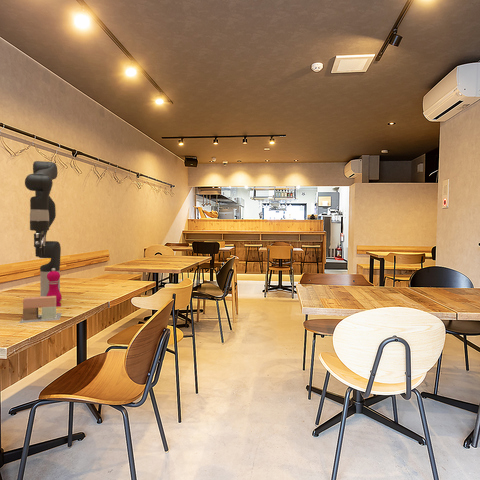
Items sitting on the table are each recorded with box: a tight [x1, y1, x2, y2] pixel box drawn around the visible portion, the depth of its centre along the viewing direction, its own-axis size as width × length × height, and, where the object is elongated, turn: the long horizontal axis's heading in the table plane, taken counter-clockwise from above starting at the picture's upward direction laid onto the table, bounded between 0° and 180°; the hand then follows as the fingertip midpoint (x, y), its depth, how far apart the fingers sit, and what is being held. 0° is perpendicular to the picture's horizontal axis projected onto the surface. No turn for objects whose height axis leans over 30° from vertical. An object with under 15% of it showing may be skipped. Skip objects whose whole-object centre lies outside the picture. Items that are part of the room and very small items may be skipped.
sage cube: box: [41, 306, 57, 319], centre depth 150 cm, size 5×5×5 cm
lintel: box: [22, 296, 56, 310], centre depth 148 cm, size 12×4×4 cm, turn 111°
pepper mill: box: [47, 268, 63, 308], centre depth 173 cm, size 7×7×20 cm
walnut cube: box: [22, 308, 39, 321], centre depth 147 cm, size 5×5×5 cm
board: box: [18, 312, 63, 324], centre depth 149 cm, size 12×15×1 cm
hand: (40, 255), depth 153 cm, fingers open, 8 cm apart
